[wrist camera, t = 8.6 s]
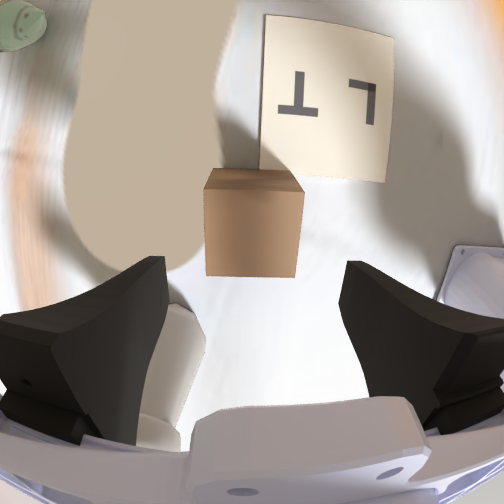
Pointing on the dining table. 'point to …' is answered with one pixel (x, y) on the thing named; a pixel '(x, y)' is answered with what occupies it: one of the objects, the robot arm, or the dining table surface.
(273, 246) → the block
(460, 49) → the dining table surface
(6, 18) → the green seashell
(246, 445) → the robot arm
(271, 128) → the label tile
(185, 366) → the salt shaker
